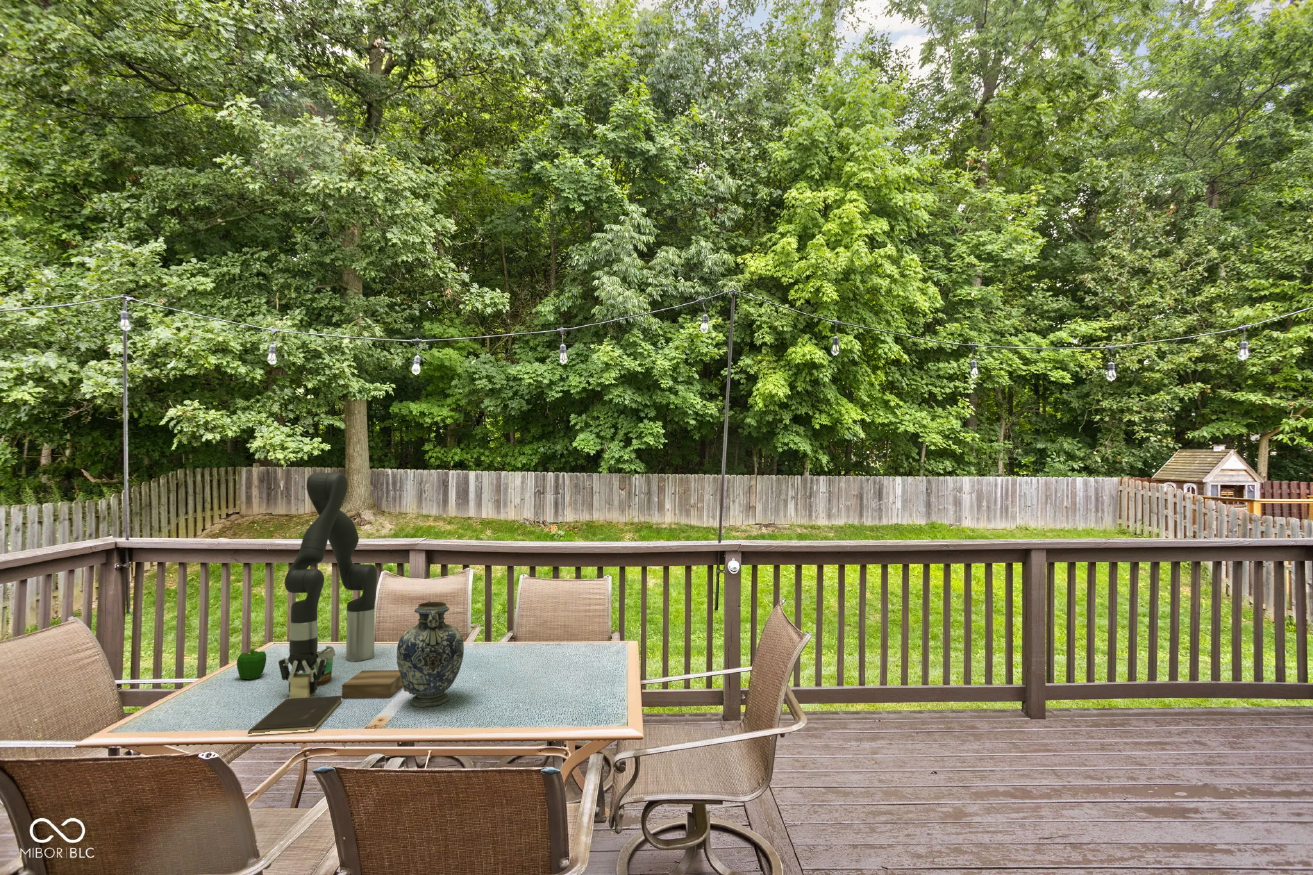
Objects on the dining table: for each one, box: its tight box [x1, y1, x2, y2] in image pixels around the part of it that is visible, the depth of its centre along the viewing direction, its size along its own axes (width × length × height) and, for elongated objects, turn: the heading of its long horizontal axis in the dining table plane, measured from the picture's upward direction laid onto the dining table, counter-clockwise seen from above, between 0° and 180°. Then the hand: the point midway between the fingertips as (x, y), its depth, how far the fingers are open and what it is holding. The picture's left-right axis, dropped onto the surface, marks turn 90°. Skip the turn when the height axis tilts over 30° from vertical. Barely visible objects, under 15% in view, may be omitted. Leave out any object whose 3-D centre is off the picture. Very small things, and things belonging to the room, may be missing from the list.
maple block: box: [289, 672, 314, 699], centre depth 200 cm, size 5×5×6 cm
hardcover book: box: [247, 695, 343, 735], centre depth 183 cm, size 16×23×2 cm
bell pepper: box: [236, 647, 267, 680], centre depth 218 cm, size 8×8×10 cm
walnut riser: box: [341, 669, 403, 700], centre depth 205 cm, size 14×14×4 cm
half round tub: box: [301, 645, 336, 687], centre depth 213 cm, size 12×6×10 cm, turn 168°
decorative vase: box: [396, 600, 465, 708], centre depth 196 cm, size 21×19×28 cm
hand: (302, 693), depth 200 cm, fingers closed on maple block, 5 cm apart
